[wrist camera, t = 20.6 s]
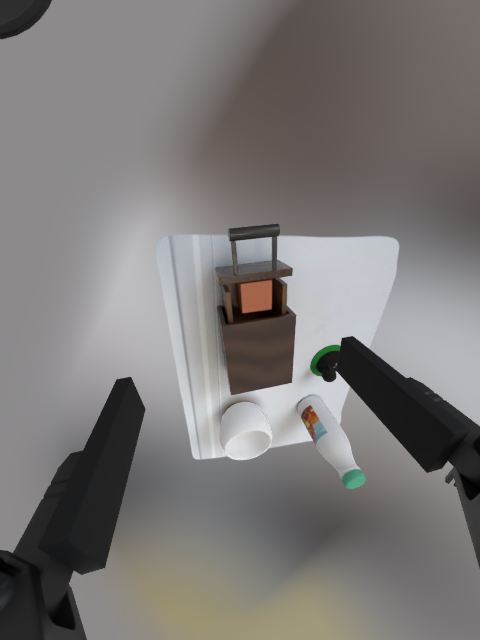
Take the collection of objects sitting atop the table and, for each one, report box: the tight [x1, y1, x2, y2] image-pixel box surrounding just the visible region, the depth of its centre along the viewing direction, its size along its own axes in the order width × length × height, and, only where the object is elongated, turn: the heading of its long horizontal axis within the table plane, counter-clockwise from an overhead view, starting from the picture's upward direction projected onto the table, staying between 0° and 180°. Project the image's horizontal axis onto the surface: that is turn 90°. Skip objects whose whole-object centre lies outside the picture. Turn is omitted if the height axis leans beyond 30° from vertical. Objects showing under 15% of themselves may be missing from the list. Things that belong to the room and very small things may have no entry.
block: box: [236, 279, 272, 313], centre depth 35 cm, size 5×5×5 cm
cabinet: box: [217, 305, 296, 395], centre depth 40 cm, size 16×13×8 cm
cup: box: [220, 402, 272, 460], centre depth 50 cm, size 12×12×10 cm
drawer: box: [215, 224, 293, 324], centre depth 35 cm, size 21×11×6 cm, turn 4°
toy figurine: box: [311, 345, 340, 382], centre depth 50 cm, size 10×10×6 cm
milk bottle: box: [298, 395, 366, 489], centre depth 50 cm, size 8×8×20 cm
